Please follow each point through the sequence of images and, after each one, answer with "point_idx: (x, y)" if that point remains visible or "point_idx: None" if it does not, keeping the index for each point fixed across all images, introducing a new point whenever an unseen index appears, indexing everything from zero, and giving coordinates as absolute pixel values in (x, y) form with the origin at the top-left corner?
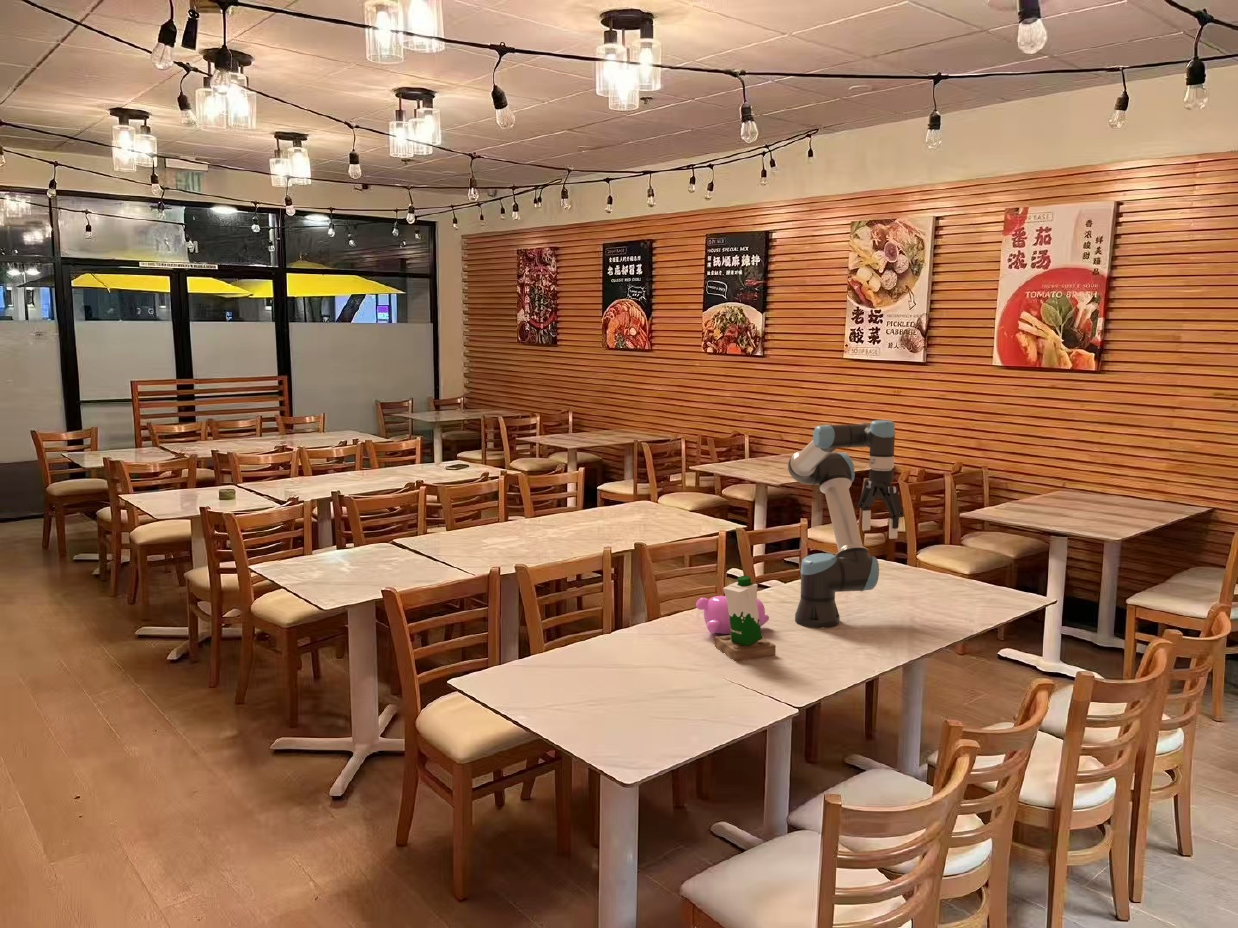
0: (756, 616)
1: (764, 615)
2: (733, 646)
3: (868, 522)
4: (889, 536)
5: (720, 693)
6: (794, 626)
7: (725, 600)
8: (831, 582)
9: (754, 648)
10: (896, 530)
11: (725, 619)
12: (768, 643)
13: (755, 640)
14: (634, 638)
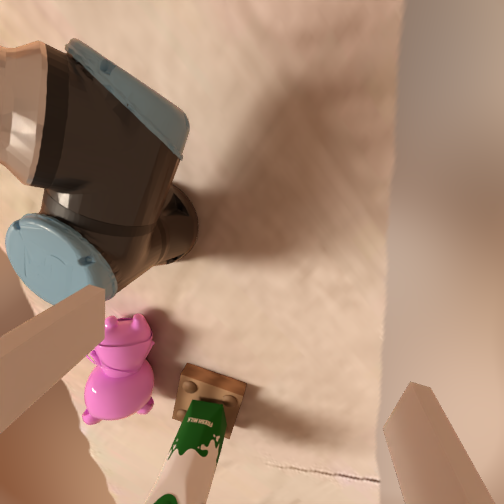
0: (215, 456)
1: (146, 341)
2: None
3: (54, 343)
4: (394, 447)
5: (297, 492)
6: (161, 271)
7: (112, 413)
8: (144, 253)
9: (235, 419)
10: (460, 464)
11: (145, 404)
12: (234, 400)
13: (224, 416)
14: (109, 435)
